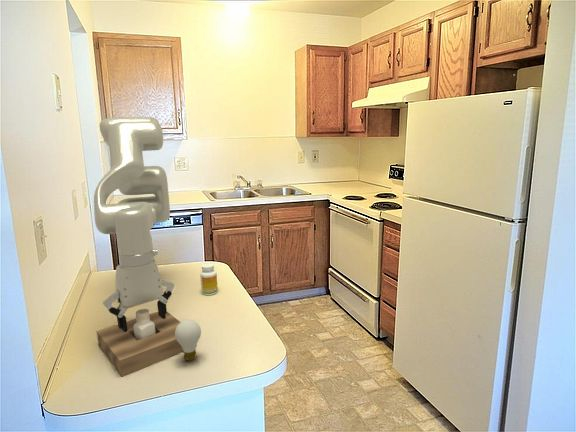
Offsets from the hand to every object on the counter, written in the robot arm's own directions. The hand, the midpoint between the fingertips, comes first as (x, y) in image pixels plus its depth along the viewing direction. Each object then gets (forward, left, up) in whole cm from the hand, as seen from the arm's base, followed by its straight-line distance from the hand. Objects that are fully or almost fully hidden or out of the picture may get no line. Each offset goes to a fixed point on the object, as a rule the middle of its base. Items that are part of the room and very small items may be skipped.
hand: (143, 323), depth 98 cm
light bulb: (+13, +6, -6) cm, 16 cm away
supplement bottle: (-19, +29, -6) cm, 35 cm away
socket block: (0, 0, -6) cm, 6 cm away
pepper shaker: (0, 0, -6) cm, 7 cm away
